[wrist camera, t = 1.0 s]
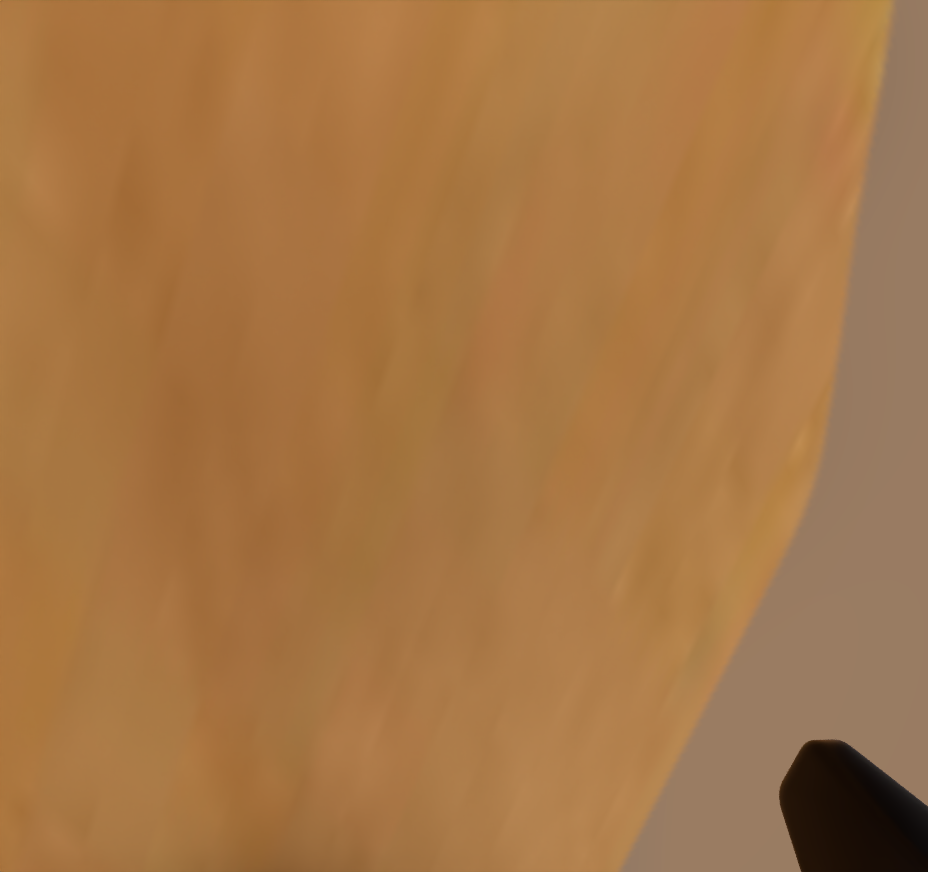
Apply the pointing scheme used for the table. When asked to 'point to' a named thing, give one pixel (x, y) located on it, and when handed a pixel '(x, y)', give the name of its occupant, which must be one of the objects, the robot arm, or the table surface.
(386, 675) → the table surface
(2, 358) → the table surface
